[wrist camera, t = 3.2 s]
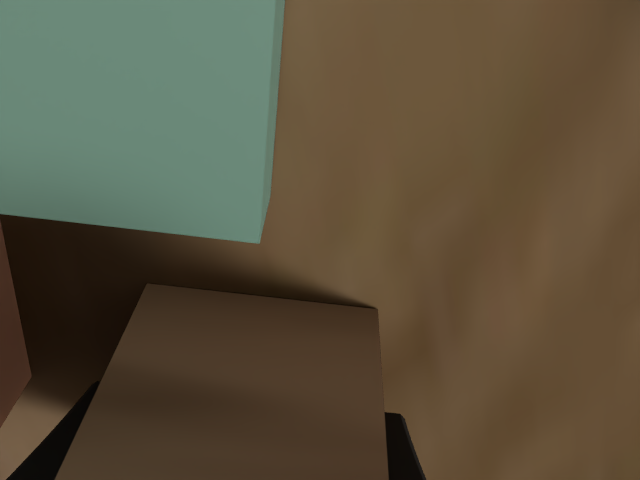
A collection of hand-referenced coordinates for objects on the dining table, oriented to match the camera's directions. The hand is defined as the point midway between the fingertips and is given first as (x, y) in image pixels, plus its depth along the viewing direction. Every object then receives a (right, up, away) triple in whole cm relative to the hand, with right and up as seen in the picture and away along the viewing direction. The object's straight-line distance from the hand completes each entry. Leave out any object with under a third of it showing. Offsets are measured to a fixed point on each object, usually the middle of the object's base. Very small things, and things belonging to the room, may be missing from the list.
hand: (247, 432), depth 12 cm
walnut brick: (0, +1, +1) cm, 1 cm away
